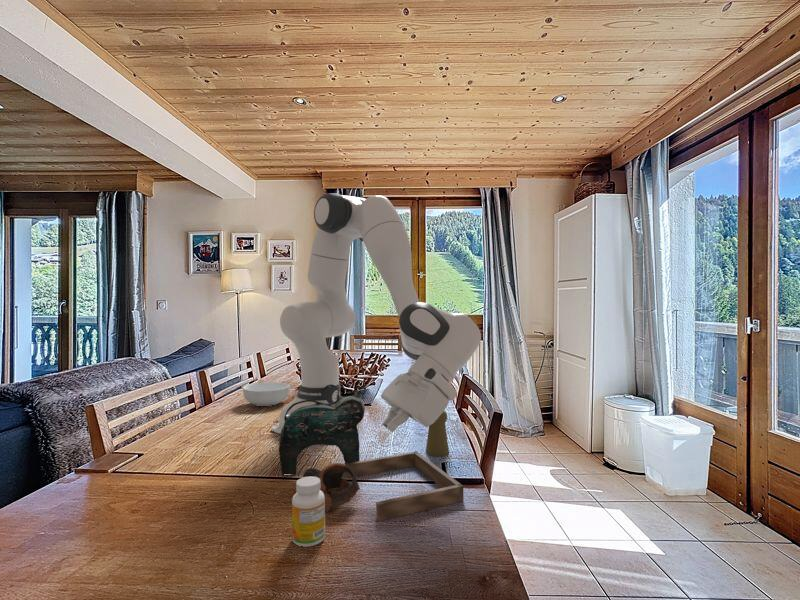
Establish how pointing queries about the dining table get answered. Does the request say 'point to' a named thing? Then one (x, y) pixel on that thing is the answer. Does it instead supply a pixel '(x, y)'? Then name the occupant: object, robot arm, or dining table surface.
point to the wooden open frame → (415, 502)
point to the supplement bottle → (308, 512)
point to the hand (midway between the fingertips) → (387, 428)
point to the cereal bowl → (266, 393)
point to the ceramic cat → (321, 429)
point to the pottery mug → (335, 484)
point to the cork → (438, 437)
